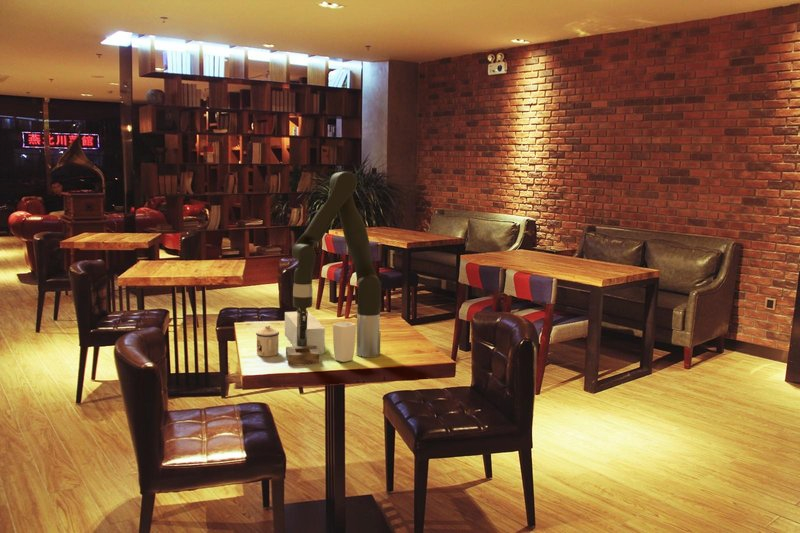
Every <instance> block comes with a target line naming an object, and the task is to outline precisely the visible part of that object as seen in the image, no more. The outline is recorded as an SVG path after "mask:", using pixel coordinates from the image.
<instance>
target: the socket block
mask: <svg viewBox="0 0 800 533" xmlns="http://www.w3.org/2000/svg"><path fill="white" fill-rule="evenodd" d="M285 358H286V361H288V362H287V364H288V366H300V365H302V366H305V365H306V364H307V365H320V364H321V363H320V362H321V353H319V351H318V349H317V347H316V346H303V347H300V346H294V347H293V346H285Z"/></svg>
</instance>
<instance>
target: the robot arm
mask: <svg viewBox="0 0 800 533" xmlns="http://www.w3.org/2000/svg"><path fill="white" fill-rule="evenodd" d="M357 186H358V180H357V177H356V175H355V174H354V173H352V172H351V171H340V172H339V171H338V172H335V173H333V174H332V175H331V177H330V179H329V189H330V191H331V193H330V194H329V196H328V198H327V200H326V201H325V202H324V203H323V205H322V206H321V207H320V209H319V210H318V211H317V212H316V213H315V215H314V216H313V218H312V220H311V221H310V223H309V225H308V226H307V228H306V229H305V231H304V233H302V235H300V237H299V238H298V239H297V240H296V242H295V243H294V244H293V247H292V250H291V256H292V257H293V259H294V260H296V261H298V265H297V267H296V268H295V270H294V273H293V287H292V288H293V290H292V307H294V308H297V310H296V312H297V315H298V323H299V324H300V328H299V329H300V339H305V338H306V329H307V318H308V317H307V316H308V312H307V311H308V310H307V309H308V308H312V307H313V293H314V292H313V289H314V288H313V271H314V267H315V263H316V257H317V253H316V250H315V248H314V246H315V245H316V244H317V243H319V242H321V241H322V240H323V238H324V237H325V235H326V233H327V231H328V230H329V227H330V226H331V224H332V223H333V221H334V219H335V218H336V216H337V214H338V215H339V220H340V225H341V228H342V233H343V237H344V240H345V244H346V248H347V249H348V252H349V254H350V257H351V259H352V263H353V265H354V269H355V276H356V286H357V305H356V307H357V308H356V309H357V310H356V315H357V316H356V356H358V357H361V356H362V357H363V358H374V356H375V357H379V355H380V356H381V340H382V339H381V332H380V329H381V328H380V327H381V326H380V325H381V324H380V323H381V321H380V320H381V318H380V317H381V315H380V314H381V306H382V301H381V300H382V283H381V280H380V279H379V277H378V275H377V273H376V270H375V267H374V264H373V260H372V254H371V245H370V239H369V234H368V230H367V227H366V224H365V222H364V219H363V218H362V216H361V214H360V212H359V210H358V209H357V207H356V204H355V201H354V200H355V199H354V197H353V194H354V192H355V191H356V189H357ZM302 324H305V326H302Z"/></svg>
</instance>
